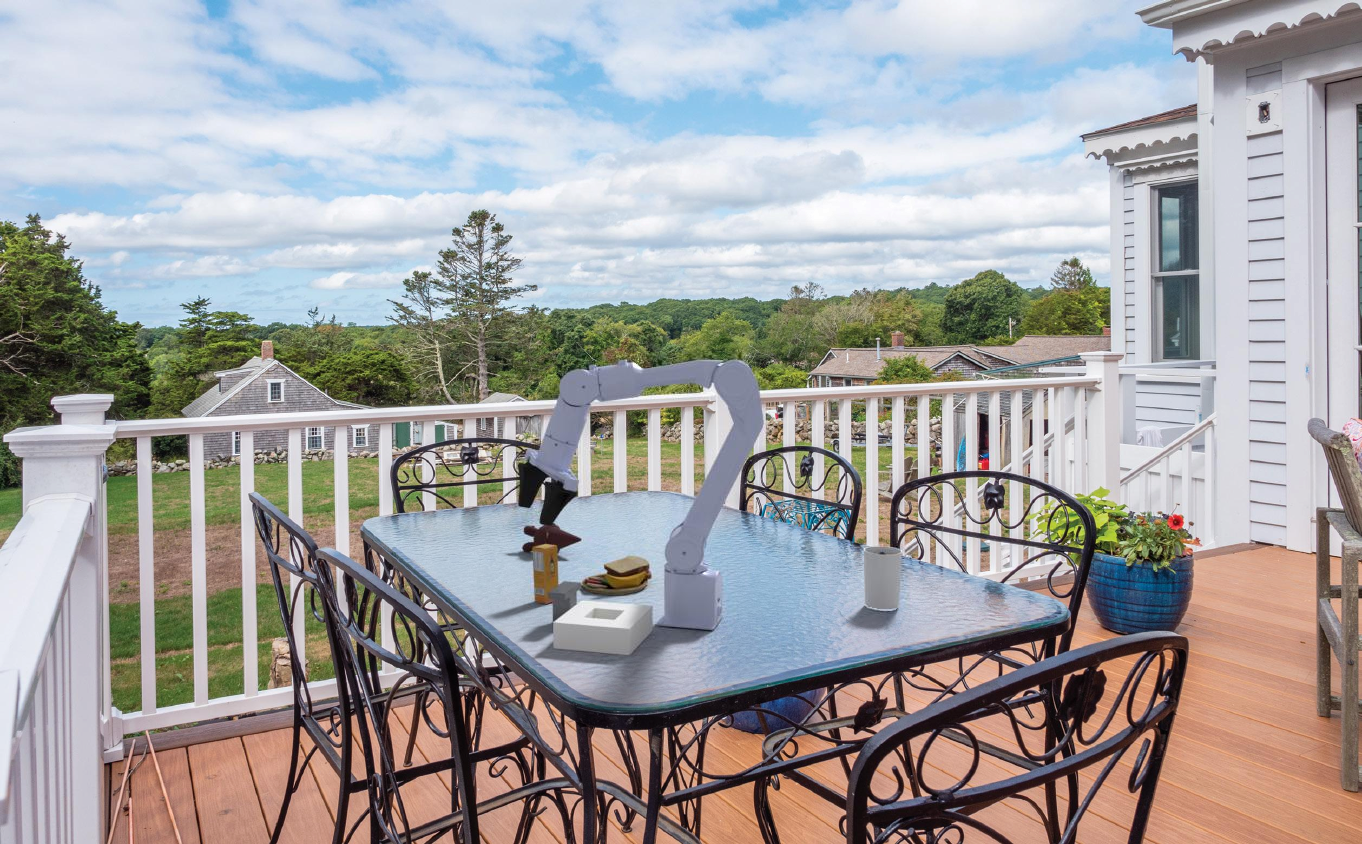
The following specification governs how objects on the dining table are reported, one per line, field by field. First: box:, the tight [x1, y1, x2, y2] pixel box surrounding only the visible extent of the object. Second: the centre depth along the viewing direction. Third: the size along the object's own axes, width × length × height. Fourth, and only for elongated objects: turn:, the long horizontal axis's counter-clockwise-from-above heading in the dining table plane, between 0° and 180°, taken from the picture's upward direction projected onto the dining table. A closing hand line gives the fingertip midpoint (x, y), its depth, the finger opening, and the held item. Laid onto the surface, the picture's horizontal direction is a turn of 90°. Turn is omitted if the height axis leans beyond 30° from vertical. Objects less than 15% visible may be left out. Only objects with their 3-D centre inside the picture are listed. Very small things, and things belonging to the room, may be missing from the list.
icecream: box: [521, 522, 582, 554], centre depth 195 cm, size 7×8×15 cm
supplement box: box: [531, 544, 560, 605], centre depth 159 cm, size 3×3×10 cm
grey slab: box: [548, 581, 582, 623], centre depth 147 cm, size 3×7×6 cm, turn 165°
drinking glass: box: [863, 545, 903, 609], centre depth 156 cm, size 7×7×10 cm
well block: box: [552, 600, 654, 656], centre depth 139 cm, size 12×12×4 cm
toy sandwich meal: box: [581, 555, 653, 596], centre depth 170 cm, size 12×14×5 cm
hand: (534, 515), depth 149 cm, fingers open, 7 cm apart
